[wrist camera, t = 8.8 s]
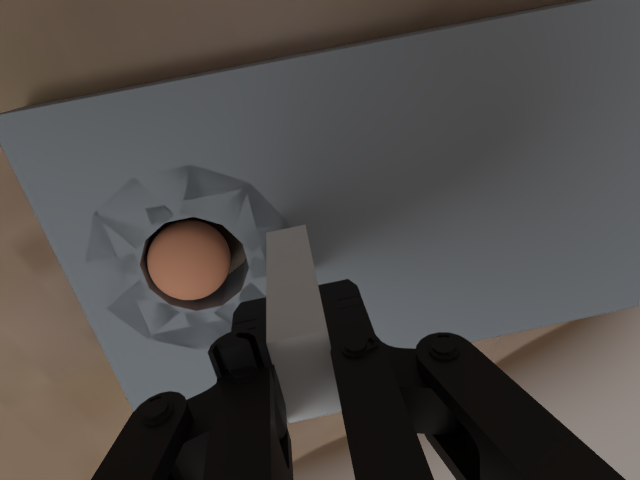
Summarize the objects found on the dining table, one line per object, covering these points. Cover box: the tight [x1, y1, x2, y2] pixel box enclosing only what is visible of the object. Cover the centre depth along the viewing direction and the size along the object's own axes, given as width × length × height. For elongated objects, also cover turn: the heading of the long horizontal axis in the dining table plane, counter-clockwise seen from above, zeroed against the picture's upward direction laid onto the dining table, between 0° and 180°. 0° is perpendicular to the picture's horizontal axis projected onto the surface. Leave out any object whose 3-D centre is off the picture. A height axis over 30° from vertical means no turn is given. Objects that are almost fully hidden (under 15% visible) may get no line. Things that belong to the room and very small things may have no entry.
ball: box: [147, 220, 231, 300], centre depth 18 cm, size 3×3×3 cm
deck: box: [0, 0, 640, 411], centre depth 19 cm, size 25×14×2 cm, turn 100°
